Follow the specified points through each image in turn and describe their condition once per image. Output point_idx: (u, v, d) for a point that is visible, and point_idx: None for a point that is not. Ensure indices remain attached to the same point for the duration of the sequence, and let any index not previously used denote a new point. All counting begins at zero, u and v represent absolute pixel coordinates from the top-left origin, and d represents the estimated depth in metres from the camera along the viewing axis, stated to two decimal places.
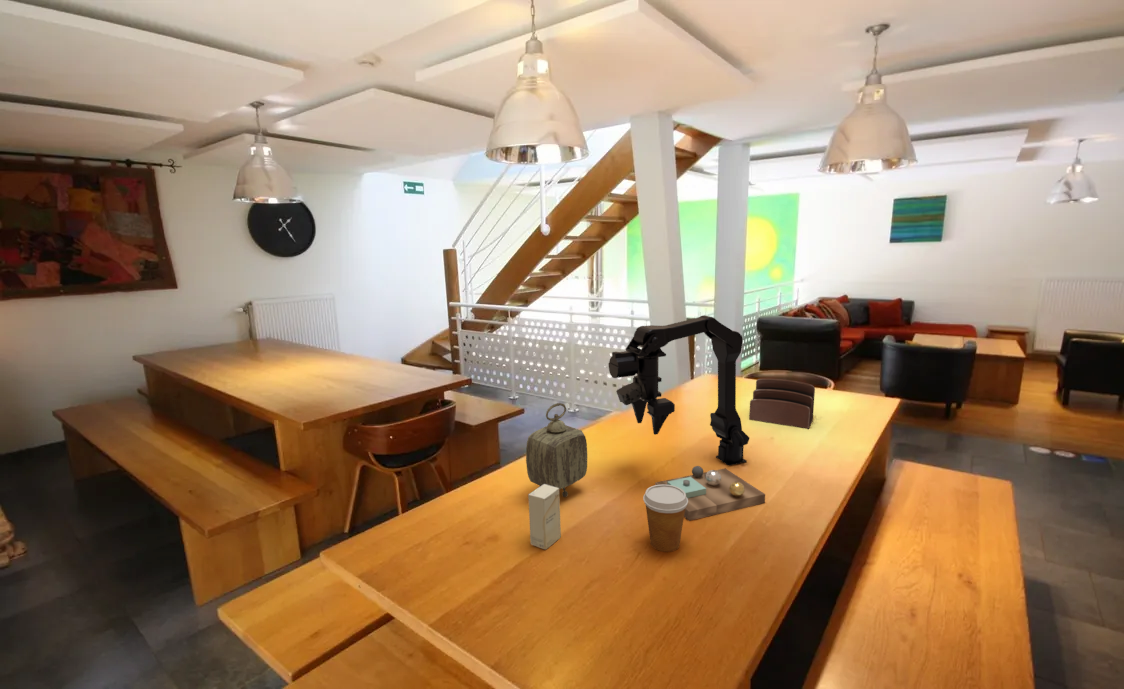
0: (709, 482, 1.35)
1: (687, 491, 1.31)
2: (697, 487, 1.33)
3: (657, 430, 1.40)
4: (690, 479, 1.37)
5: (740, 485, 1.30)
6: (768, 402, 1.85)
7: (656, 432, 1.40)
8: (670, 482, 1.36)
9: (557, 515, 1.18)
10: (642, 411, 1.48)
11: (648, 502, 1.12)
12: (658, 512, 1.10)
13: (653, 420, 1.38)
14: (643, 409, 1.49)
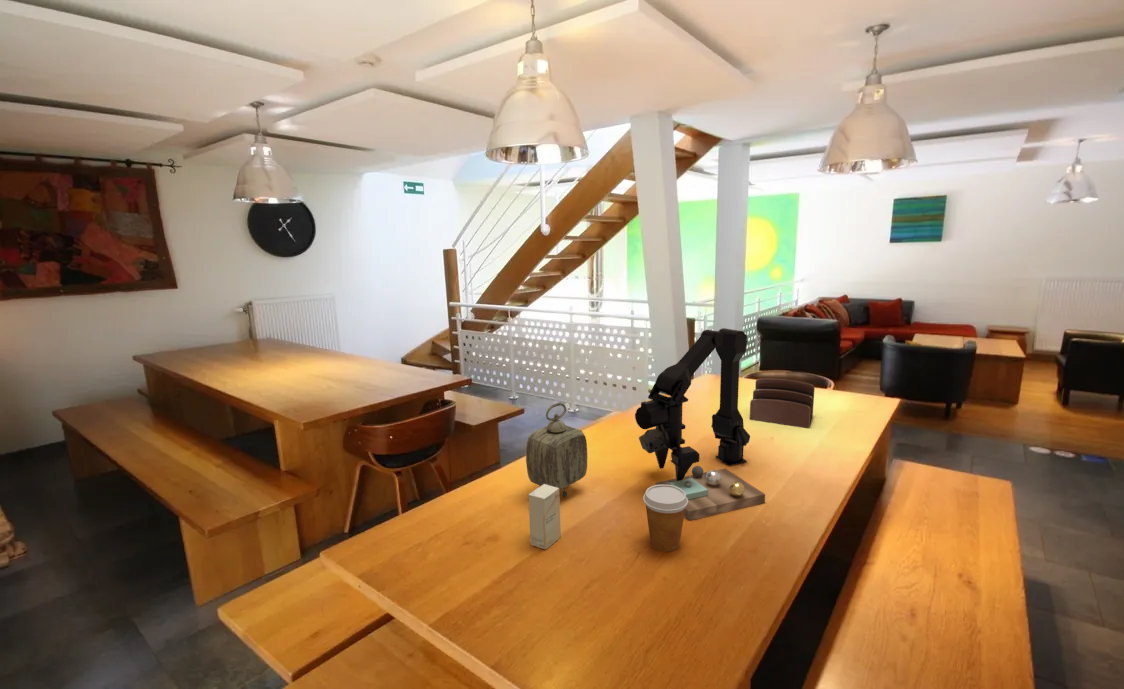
0: (709, 482, 1.35)
1: (689, 492, 1.30)
2: (699, 488, 1.32)
3: (680, 478, 1.37)
4: (692, 480, 1.36)
5: (740, 485, 1.30)
6: (769, 402, 1.85)
7: (679, 480, 1.37)
8: (672, 483, 1.35)
9: (557, 515, 1.18)
10: (664, 456, 1.45)
11: (648, 502, 1.12)
12: (658, 512, 1.10)
13: (677, 469, 1.35)
14: (665, 454, 1.45)
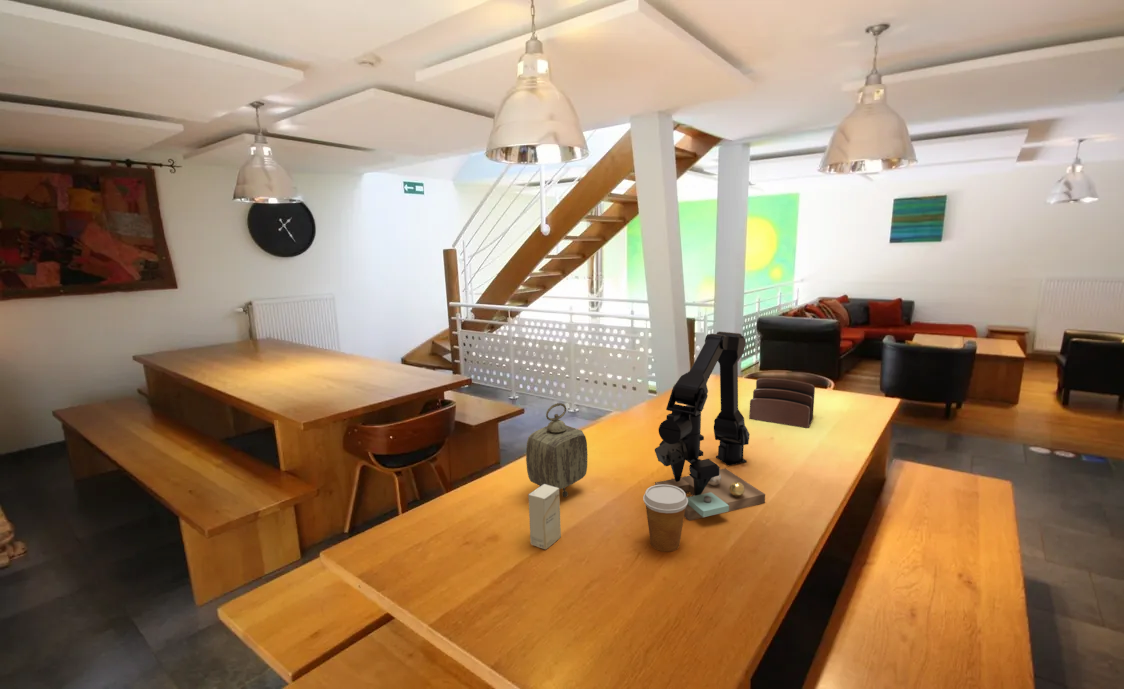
0: (709, 482, 1.35)
1: (709, 508, 1.22)
2: (719, 504, 1.24)
3: (699, 493, 1.29)
4: (711, 495, 1.28)
5: (740, 485, 1.30)
6: (768, 401, 1.85)
7: None
8: (690, 498, 1.27)
9: (557, 515, 1.18)
10: (680, 468, 1.38)
11: (648, 502, 1.12)
12: (658, 512, 1.10)
13: (695, 483, 1.27)
14: (681, 466, 1.38)
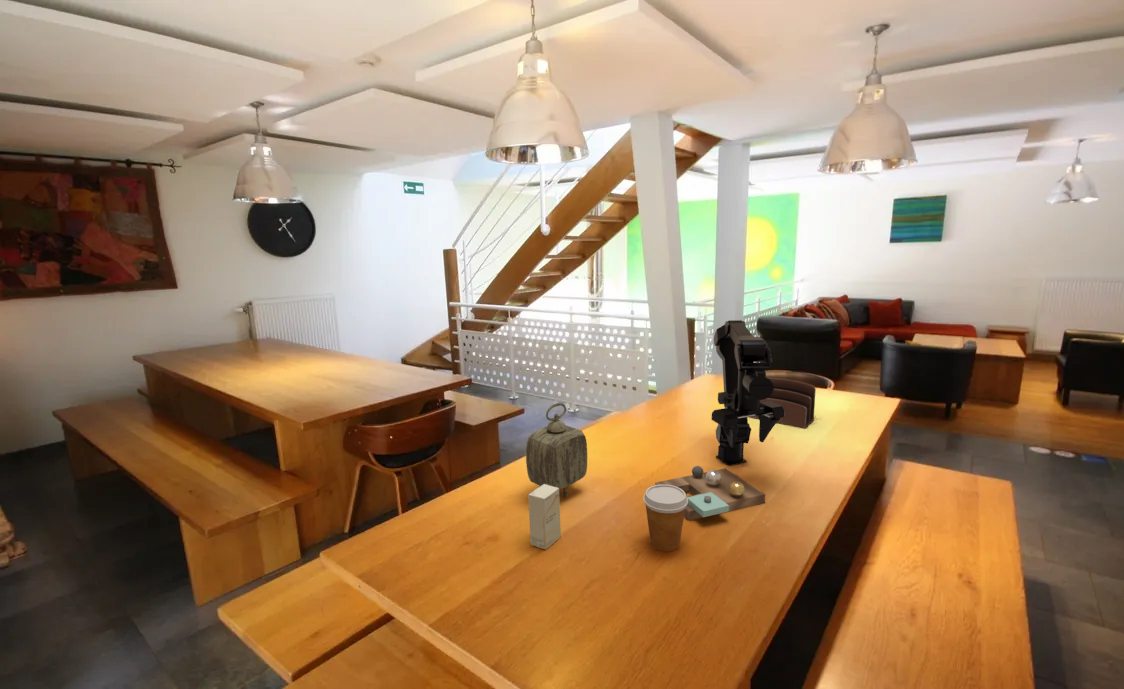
0: (709, 482, 1.35)
1: (709, 508, 1.22)
2: (719, 504, 1.24)
3: (730, 443, 1.36)
4: (711, 495, 1.28)
5: (740, 485, 1.30)
6: (766, 400, 1.86)
7: (730, 445, 1.37)
8: (690, 498, 1.27)
9: (557, 515, 1.18)
10: (764, 431, 1.38)
11: (648, 502, 1.12)
12: (658, 512, 1.10)
13: None
14: (765, 430, 1.38)
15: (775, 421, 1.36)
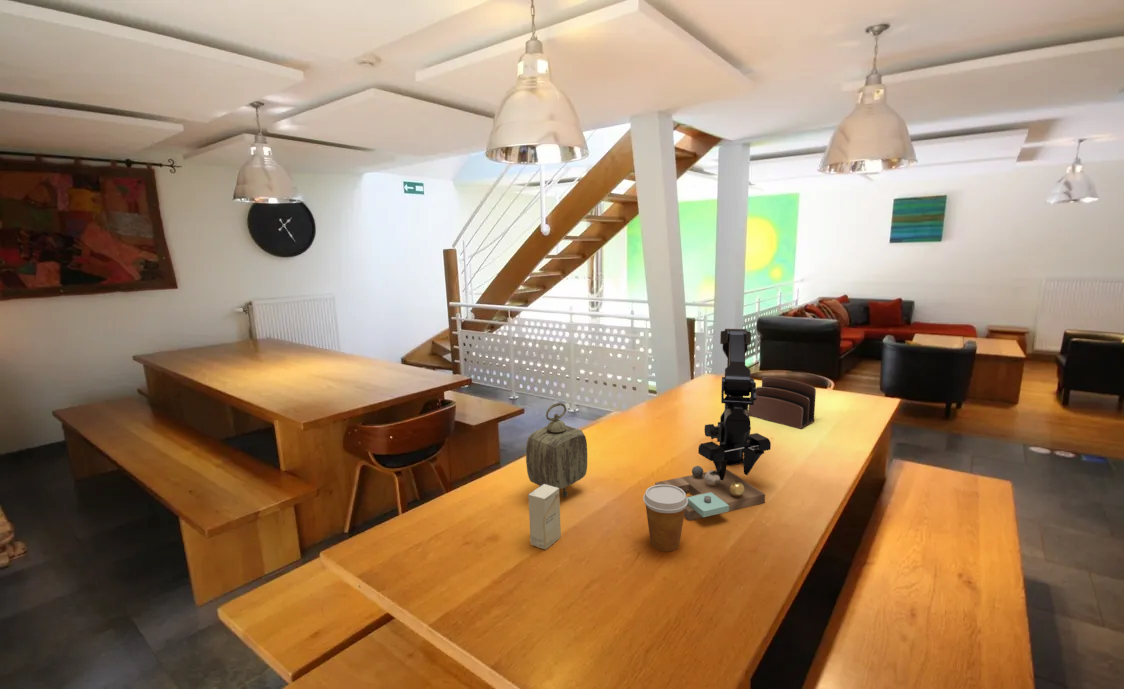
0: (708, 483, 1.35)
1: (709, 508, 1.22)
2: (719, 504, 1.24)
3: (720, 476, 1.37)
4: (711, 495, 1.28)
5: (740, 485, 1.30)
6: (765, 399, 1.87)
7: (720, 477, 1.37)
8: (690, 498, 1.27)
9: (557, 515, 1.18)
10: (748, 464, 1.38)
11: (648, 502, 1.12)
12: (658, 512, 1.10)
13: None
14: (750, 463, 1.38)
15: (759, 454, 1.36)
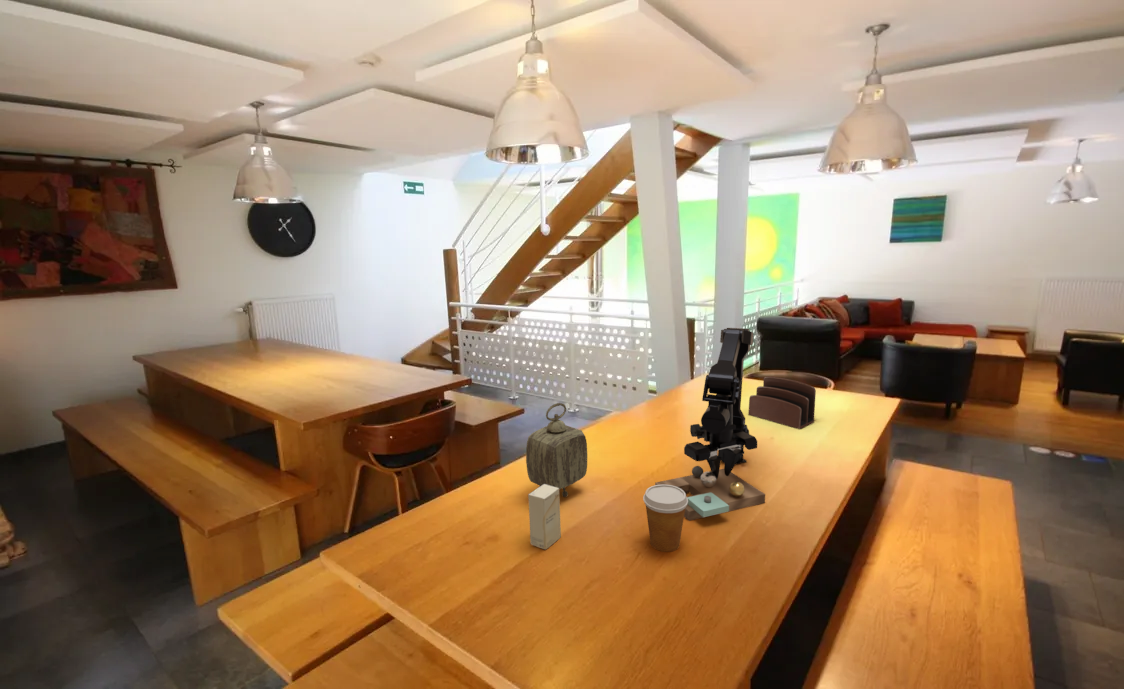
0: None
1: (709, 508, 1.22)
2: (719, 504, 1.24)
3: (714, 474, 1.36)
4: (711, 495, 1.28)
5: (740, 485, 1.30)
6: (765, 399, 1.88)
7: None
8: (690, 498, 1.27)
9: (557, 515, 1.18)
10: (729, 465, 1.36)
11: (648, 502, 1.12)
12: (658, 512, 1.10)
13: None
14: (730, 463, 1.35)
15: (739, 454, 1.34)
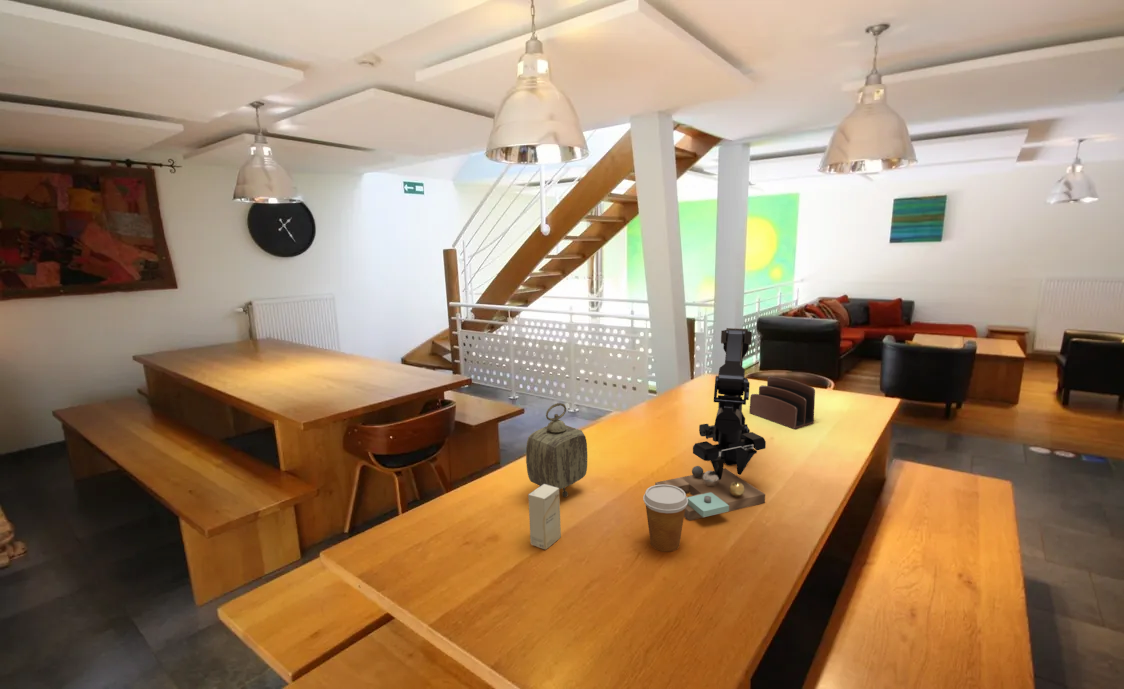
0: (708, 484, 1.35)
1: (709, 508, 1.22)
2: (719, 504, 1.24)
3: None
4: (711, 495, 1.28)
5: (740, 485, 1.30)
6: (764, 398, 1.89)
7: None
8: (690, 498, 1.27)
9: (557, 515, 1.18)
10: (741, 464, 1.38)
11: (648, 502, 1.12)
12: (658, 512, 1.10)
13: None
14: (742, 462, 1.37)
15: (752, 454, 1.36)
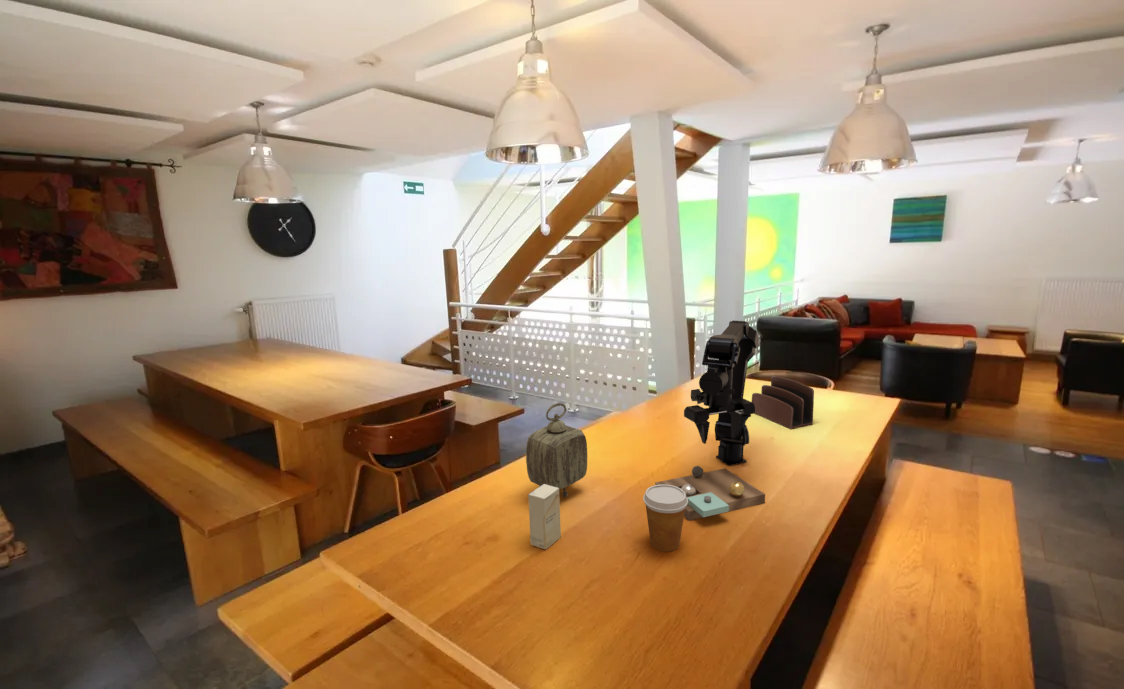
0: (686, 496, 1.33)
1: (709, 508, 1.22)
2: (719, 504, 1.24)
3: (702, 439, 1.39)
4: (711, 495, 1.28)
5: (740, 485, 1.30)
6: (764, 397, 1.90)
7: (702, 441, 1.39)
8: (690, 498, 1.27)
9: (557, 515, 1.18)
10: (735, 427, 1.41)
11: (648, 502, 1.12)
12: (658, 512, 1.10)
13: None
14: (737, 426, 1.41)
15: (746, 417, 1.39)
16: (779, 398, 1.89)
